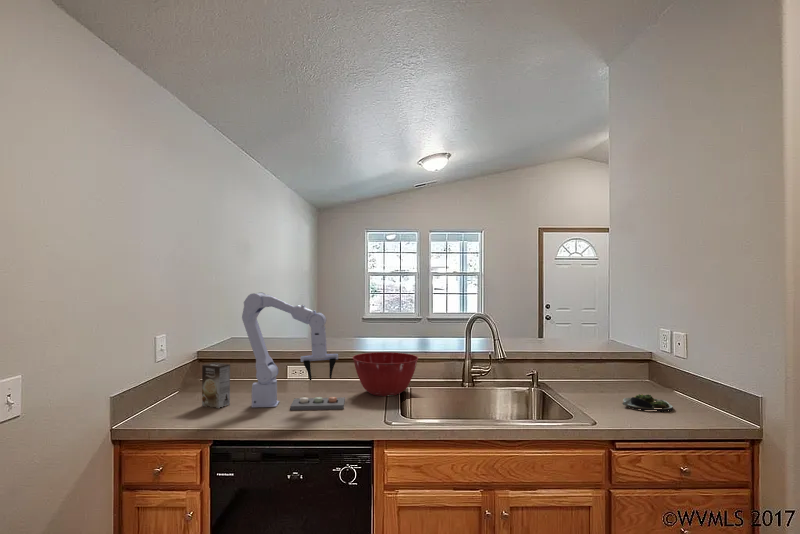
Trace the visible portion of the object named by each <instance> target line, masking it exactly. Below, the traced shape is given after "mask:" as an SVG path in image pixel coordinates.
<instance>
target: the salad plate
mask: <svg viewBox="0 0 800 534" xmlns="http://www.w3.org/2000/svg"><path fill="white" fill-rule="evenodd" d="M622 401H623V402H622V403H621V404H622V405H623V406H625V407H627V408H628V407H630V408H634V409H641V410H657V411H668V410H671V411H672V410H673V409H674V406H673V405H672V404H670V402H668V401H667V400H664V399H659V398H654V397H653V396H652V395H651V394H643V393H641V394H640V393H639V394H638V395H637V394H636V395H635V396H632V397H624V398H623V399H622ZM654 401H656V402H654ZM630 408H629V409H630ZM654 408H662V409H654ZM634 409H633V410H634Z"/></svg>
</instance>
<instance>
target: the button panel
mask: <svg viewBox="0 0 800 534" xmlns="http://www.w3.org/2000/svg"><path fill="white" fill-rule="evenodd" d="M300 398H301V397H299V398H294V399H293V401H292V402H291V404H290V407H289V408H290V409H289V410H290V411H314V410H315V411H318V410H321V411H322V410H344V408H345V402H346V397H337V402H336V403H329V397H322V398H323V403H314V398H315V397H307V398H308V403H300Z"/></svg>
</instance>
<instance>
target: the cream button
mask: <svg viewBox="0 0 800 534" xmlns="http://www.w3.org/2000/svg"><path fill="white" fill-rule="evenodd" d="M299 398H300V403H308V398H309V397H304V396H303V397H299Z"/></svg>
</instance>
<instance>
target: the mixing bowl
mask: <svg viewBox="0 0 800 534" xmlns="http://www.w3.org/2000/svg"><path fill="white" fill-rule="evenodd" d="M352 359H353V363H354V368H355V370H356V371H355V372H356V374H357V376H358V379H359V381H360V383H361V386H362V388H364V390H365V391H367V392H368V393H369V394H370V395H373V396H376V397H377V396H378V397H388V396H387V395H394V396H398V395H400V394H401V393H402V392H404V391H406V389H407V388H408V387H409V385H410V383H411V381H412V378H413V376H414V373H415V371H416V367H417V365H418V364H417V363H418V361H419V357H418V356H417V355H415V354H410V353H402V352H390V351H389V352H386V351H385V352H382V351H380V352H379V351H378V352H366V353H365V352H364V353H359V354H355V355H353V356H352ZM397 394H398V395H397Z"/></svg>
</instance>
